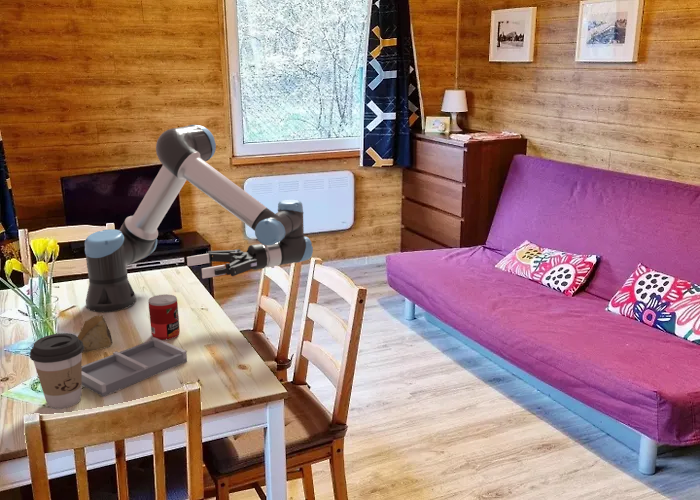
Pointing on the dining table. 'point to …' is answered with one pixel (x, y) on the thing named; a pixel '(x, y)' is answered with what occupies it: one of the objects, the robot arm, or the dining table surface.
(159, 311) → the canned food
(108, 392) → the tray
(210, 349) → the dining table surface
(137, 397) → the dining table surface
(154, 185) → the robot arm
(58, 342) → the coffee cup
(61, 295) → the dining table surface
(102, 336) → the rock
